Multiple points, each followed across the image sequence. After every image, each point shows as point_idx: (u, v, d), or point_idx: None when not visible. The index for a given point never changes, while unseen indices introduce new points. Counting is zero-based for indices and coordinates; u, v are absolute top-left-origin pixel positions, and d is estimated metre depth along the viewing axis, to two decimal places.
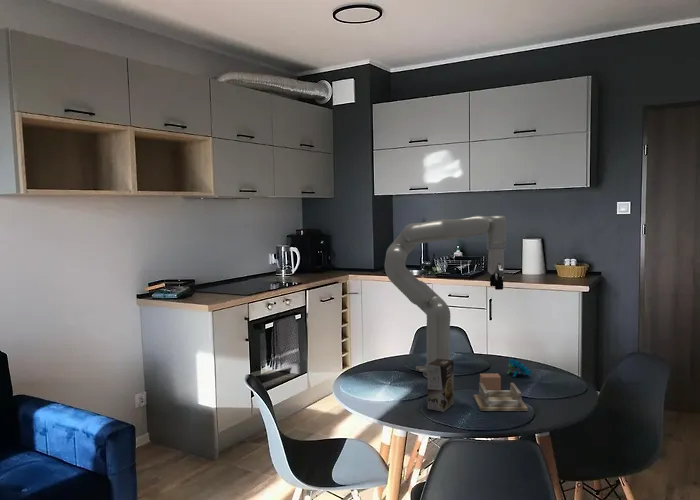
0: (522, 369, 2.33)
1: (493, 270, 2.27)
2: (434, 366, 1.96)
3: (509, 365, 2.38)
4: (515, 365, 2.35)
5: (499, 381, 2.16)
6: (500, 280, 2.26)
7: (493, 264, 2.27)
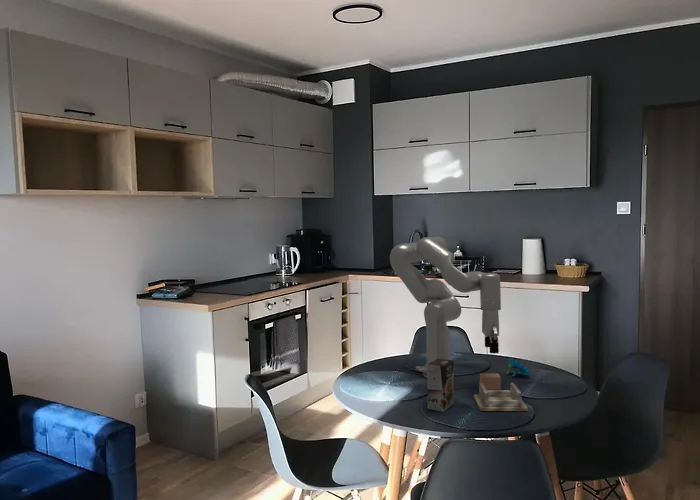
0: (521, 369, 2.33)
1: (487, 332, 2.12)
2: (434, 366, 1.96)
3: (509, 365, 2.39)
4: (515, 365, 2.35)
5: (499, 381, 2.16)
6: (495, 343, 2.11)
7: (487, 326, 2.12)
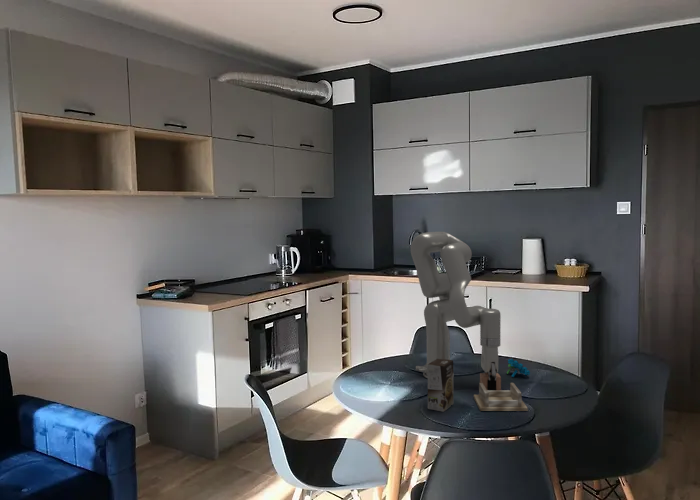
0: (521, 369, 2.33)
1: (487, 369, 2.13)
2: (434, 366, 1.96)
3: (509, 365, 2.39)
4: (514, 365, 2.35)
5: (499, 381, 2.16)
6: (493, 381, 2.14)
7: (487, 362, 2.13)
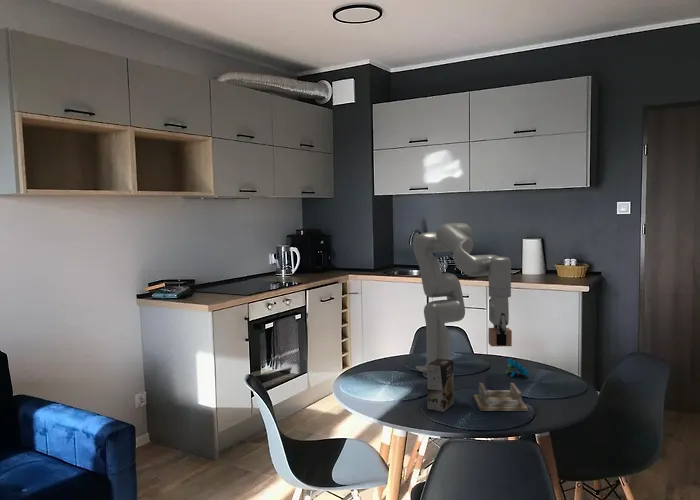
0: (520, 369, 2.33)
1: (496, 321, 1.95)
2: (434, 366, 1.96)
3: (508, 365, 2.39)
4: (513, 365, 2.35)
5: (510, 335, 1.97)
6: (503, 335, 1.96)
7: (496, 314, 1.95)
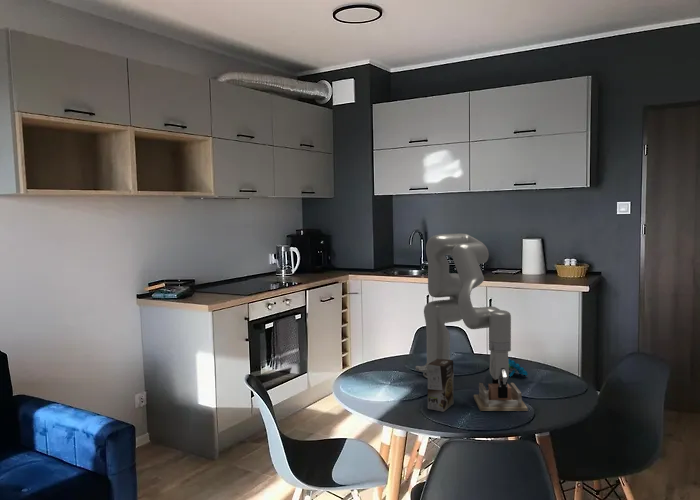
0: (519, 369, 2.33)
1: (496, 376, 1.96)
2: (434, 366, 1.96)
3: None
4: (512, 365, 2.35)
5: (509, 392, 1.99)
6: (504, 388, 1.95)
7: (496, 369, 1.96)
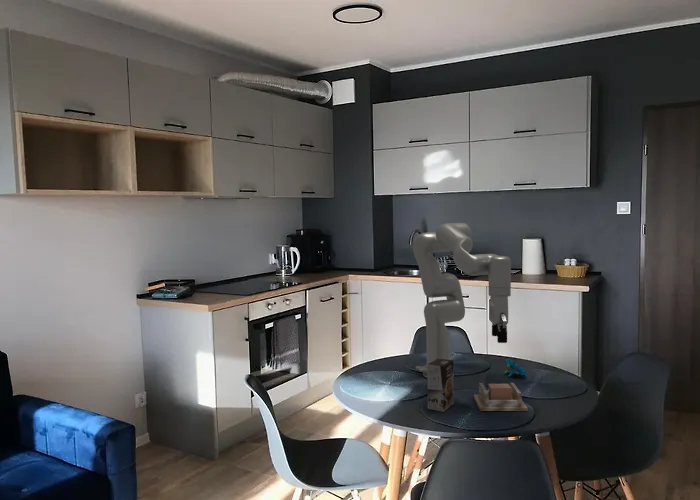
0: (518, 369, 2.33)
1: (495, 320, 1.95)
2: (434, 366, 1.96)
3: (507, 365, 2.39)
4: (512, 365, 2.35)
5: (509, 392, 1.99)
6: (503, 332, 1.94)
7: (495, 313, 1.95)
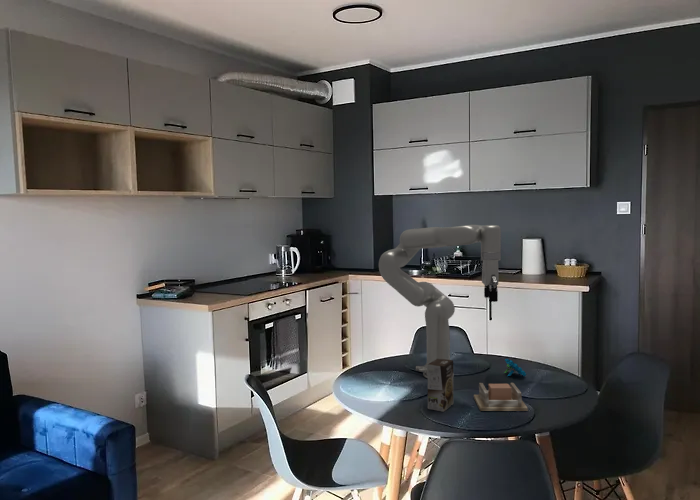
0: (517, 369, 2.33)
1: (487, 281, 2.20)
2: (434, 366, 1.96)
3: (507, 365, 2.39)
4: (511, 365, 2.35)
5: (509, 392, 1.99)
6: (494, 292, 2.19)
7: (487, 275, 2.19)
